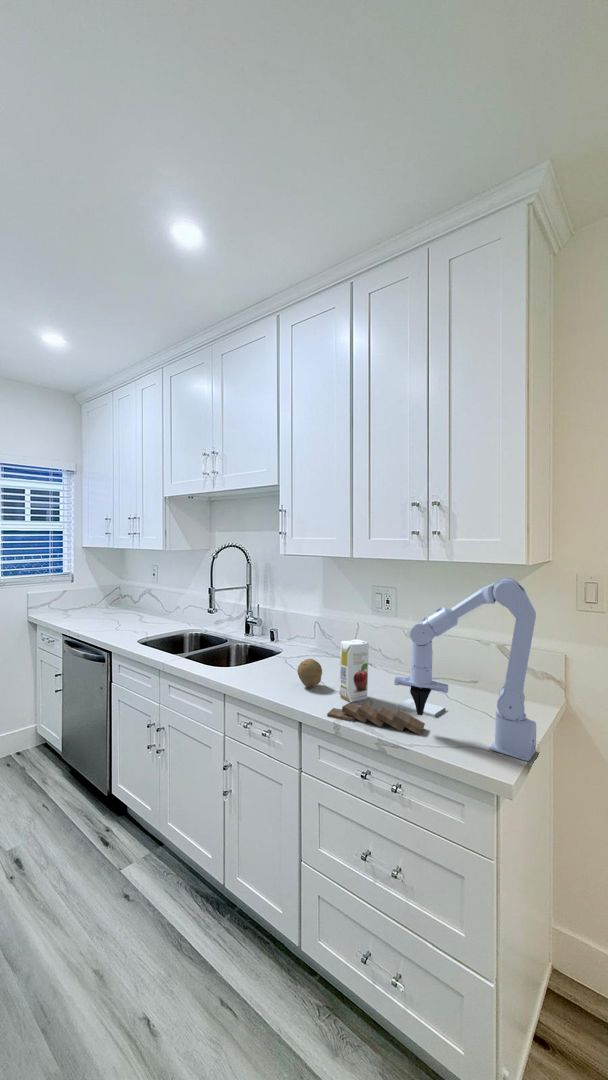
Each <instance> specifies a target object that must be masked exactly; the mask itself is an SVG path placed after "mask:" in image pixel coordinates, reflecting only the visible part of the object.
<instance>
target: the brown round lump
mask: <svg viewBox="0 0 608 1080" xmlns="http://www.w3.org/2000/svg"><path fill="white" fill-rule="evenodd" d="M296 673H297V675H298V678H299V680H300V682H301V683H302V684H303V685H304V686H305V687H306V688H311V689H312V688H313V687H314V686H317V685H319V684H320V683H321V682H322V681H321V680H322V675H323V669H322V665H321V664H320V662H318V661H317V660H316V659H314V658H307V659H304V660H302V661H301V662H300V664H299V665H298V666H297V672H296Z"/></svg>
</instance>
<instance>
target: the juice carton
mask: <svg viewBox="0 0 608 1080" xmlns="http://www.w3.org/2000/svg"><path fill="white" fill-rule="evenodd" d="M369 644H370V643H369V642H367V641H365V640H361V639H352V640H341V642H340V656H339V658H340V659H339V660H340V662H339V697H340V698H341V699H343V700H345V701H347V702H348V703H350V702H351V703H355V702H359V701H364V700H367V699H368V690H369V689H368V687H369V685H368V683H369V656H370V655H369V649H370V648H369Z"/></svg>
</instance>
